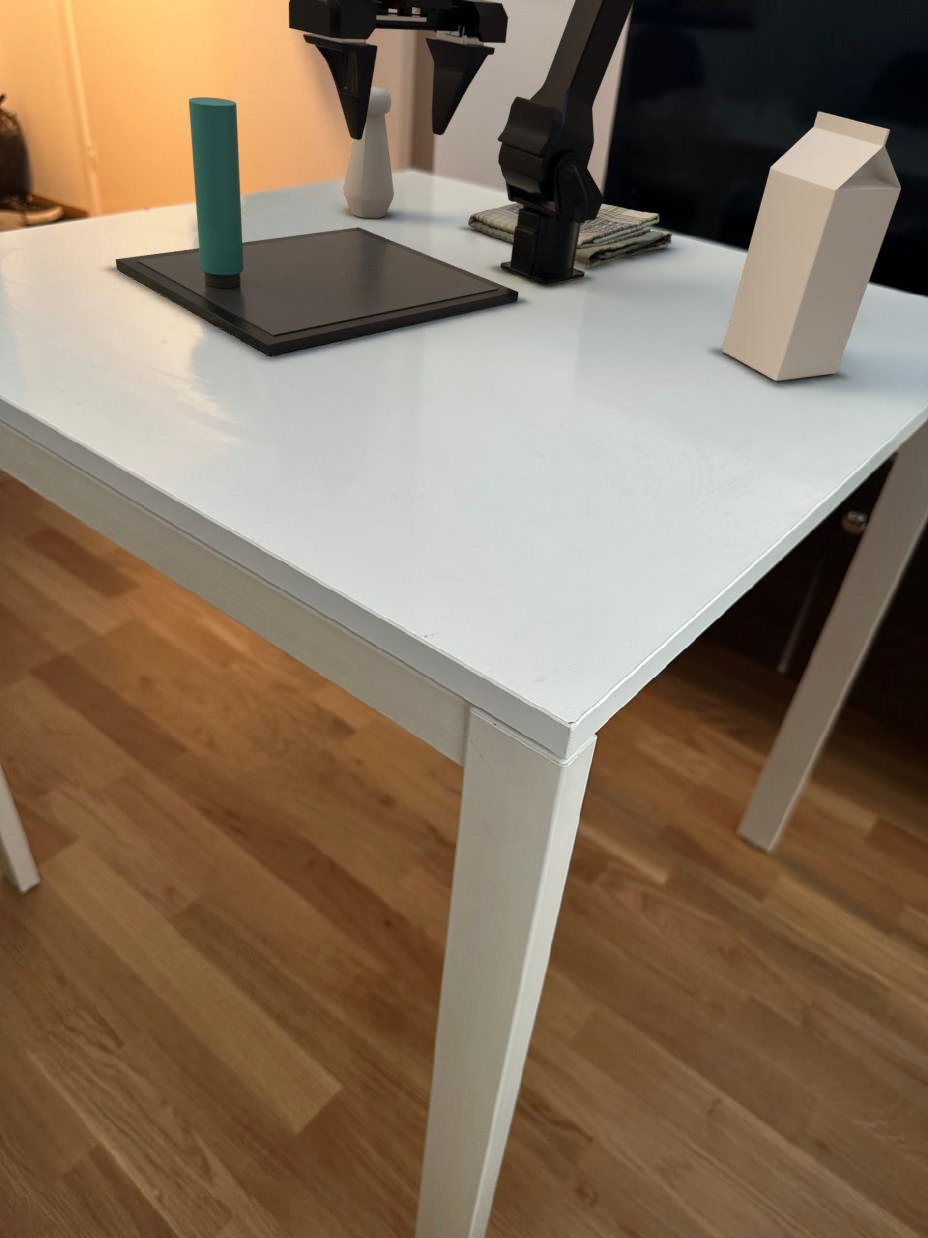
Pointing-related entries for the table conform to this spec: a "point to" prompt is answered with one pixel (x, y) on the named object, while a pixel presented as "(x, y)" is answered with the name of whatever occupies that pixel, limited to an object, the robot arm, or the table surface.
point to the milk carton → (813, 250)
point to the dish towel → (587, 232)
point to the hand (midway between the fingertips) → (398, 136)
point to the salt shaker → (371, 163)
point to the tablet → (319, 288)
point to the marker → (217, 189)
